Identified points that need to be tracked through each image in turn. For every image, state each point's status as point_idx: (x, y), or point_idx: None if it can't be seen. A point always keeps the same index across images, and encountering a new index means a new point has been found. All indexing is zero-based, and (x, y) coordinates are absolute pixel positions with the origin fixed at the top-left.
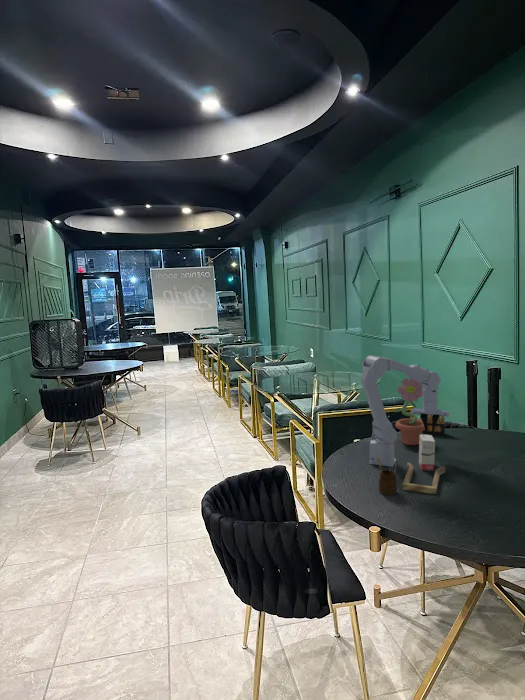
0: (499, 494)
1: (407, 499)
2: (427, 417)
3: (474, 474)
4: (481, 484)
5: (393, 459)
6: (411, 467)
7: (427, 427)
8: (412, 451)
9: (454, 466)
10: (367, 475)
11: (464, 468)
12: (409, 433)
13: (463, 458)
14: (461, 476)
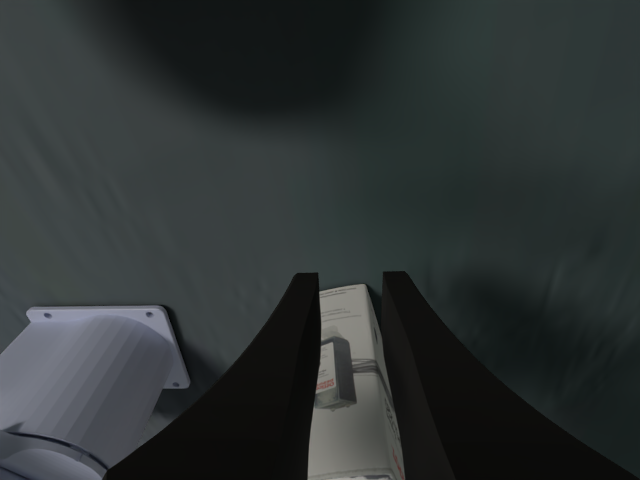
0: (634, 475)
1: None
2: (284, 469)
3: (598, 355)
4: (593, 430)
5: (166, 374)
6: None
7: (313, 335)
8: (190, 99)
9: (508, 290)
10: None
11: (564, 300)
12: None
13: (613, 122)
14: (521, 388)
